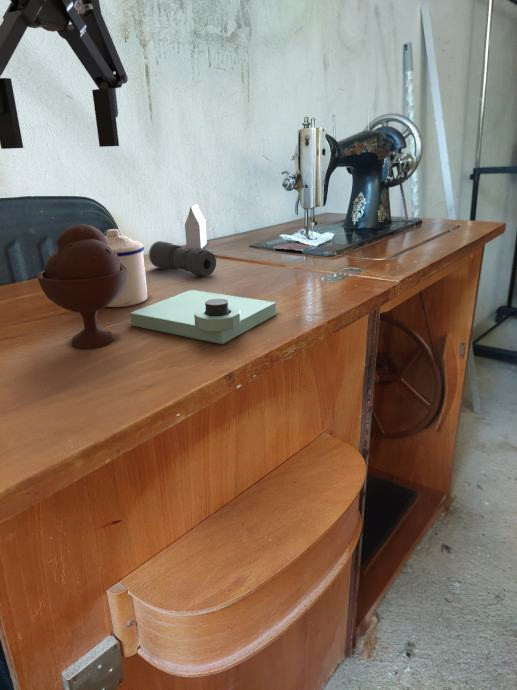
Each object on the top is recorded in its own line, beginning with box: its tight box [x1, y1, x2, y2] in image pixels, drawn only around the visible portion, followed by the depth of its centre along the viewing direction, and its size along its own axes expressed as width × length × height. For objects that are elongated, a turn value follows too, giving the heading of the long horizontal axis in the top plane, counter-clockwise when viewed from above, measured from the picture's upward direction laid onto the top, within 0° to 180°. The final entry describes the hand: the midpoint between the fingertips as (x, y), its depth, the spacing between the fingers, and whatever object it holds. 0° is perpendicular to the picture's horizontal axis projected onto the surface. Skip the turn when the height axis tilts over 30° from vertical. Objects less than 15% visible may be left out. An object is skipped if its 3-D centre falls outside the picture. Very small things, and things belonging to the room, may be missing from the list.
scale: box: [129, 289, 277, 345], centre depth 74 cm, size 17×15×4 cm
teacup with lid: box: [104, 228, 148, 308], centre depth 84 cm, size 12×9×12 cm
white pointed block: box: [184, 203, 208, 250], centre depth 130 cm, size 4×7×10 cm, turn 174°
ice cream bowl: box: [37, 223, 127, 349], centre depth 66 cm, size 11×11×15 cm
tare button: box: [205, 299, 229, 316], centre depth 67 cm, size 3×3×2 cm
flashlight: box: [148, 240, 217, 278], centre depth 104 cm, size 15×5×5 cm, turn 48°
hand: (65, 147), depth 60 cm, fingers open, 13 cm apart
